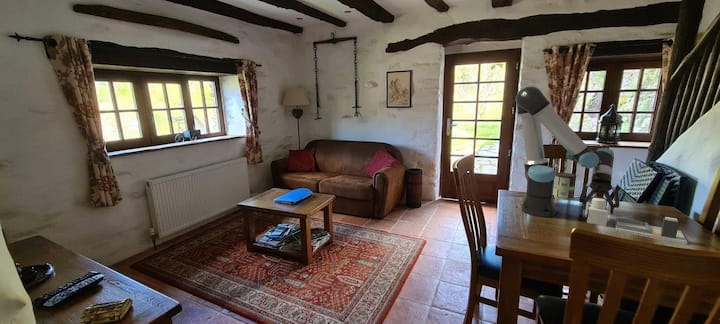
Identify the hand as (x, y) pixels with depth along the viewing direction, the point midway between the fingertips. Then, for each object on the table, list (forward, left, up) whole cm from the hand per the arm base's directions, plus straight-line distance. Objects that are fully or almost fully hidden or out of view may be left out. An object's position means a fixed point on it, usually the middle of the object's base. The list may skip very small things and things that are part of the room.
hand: (596, 217), depth 135 cm
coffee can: (-16, +39, -4) cm, 43 cm away
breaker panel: (+18, +2, -4) cm, 18 cm away
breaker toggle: (+23, -2, -2) cm, 23 cm away
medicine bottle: (0, +3, -4) cm, 5 cm away
